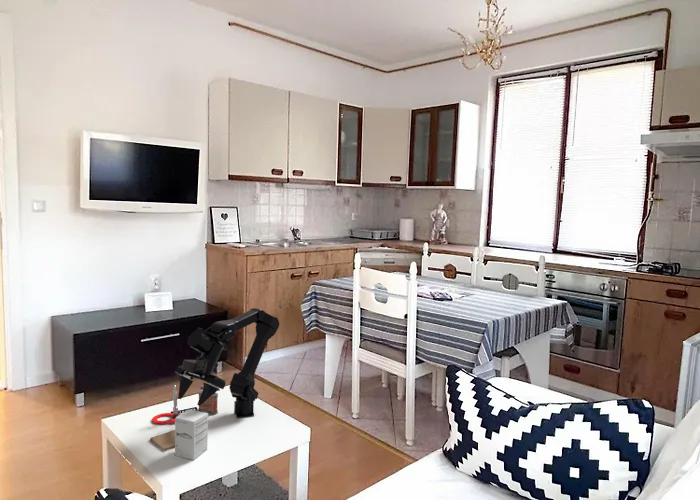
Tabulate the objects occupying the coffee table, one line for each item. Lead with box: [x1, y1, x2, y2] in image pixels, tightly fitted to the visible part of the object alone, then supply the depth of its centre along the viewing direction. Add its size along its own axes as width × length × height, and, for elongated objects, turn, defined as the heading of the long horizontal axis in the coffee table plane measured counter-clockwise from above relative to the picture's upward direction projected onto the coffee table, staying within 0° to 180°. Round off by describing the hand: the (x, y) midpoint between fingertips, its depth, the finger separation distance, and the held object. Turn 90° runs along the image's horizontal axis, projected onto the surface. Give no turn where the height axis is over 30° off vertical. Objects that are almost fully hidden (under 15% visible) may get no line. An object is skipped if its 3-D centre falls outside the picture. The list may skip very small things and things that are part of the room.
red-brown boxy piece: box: [197, 384, 219, 416], centre depth 188 cm, size 8×3×10 cm, turn 71°
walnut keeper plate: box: [149, 429, 175, 452], centre depth 165 cm, size 10×10×1 cm
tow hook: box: [151, 385, 182, 425], centre depth 180 cm, size 8×13×9 cm
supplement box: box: [174, 409, 209, 461], centre depth 157 cm, size 7×7×13 cm
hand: (188, 402), depth 164 cm, fingers open, 9 cm apart
